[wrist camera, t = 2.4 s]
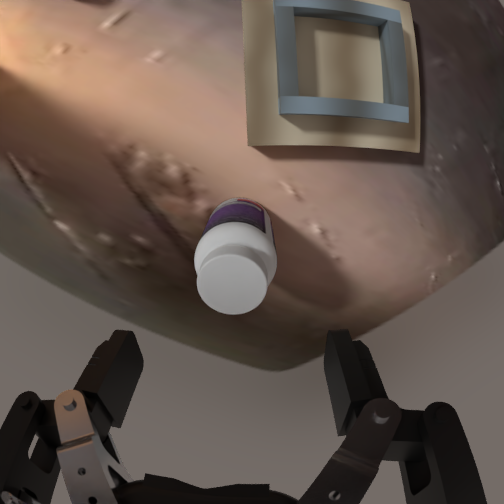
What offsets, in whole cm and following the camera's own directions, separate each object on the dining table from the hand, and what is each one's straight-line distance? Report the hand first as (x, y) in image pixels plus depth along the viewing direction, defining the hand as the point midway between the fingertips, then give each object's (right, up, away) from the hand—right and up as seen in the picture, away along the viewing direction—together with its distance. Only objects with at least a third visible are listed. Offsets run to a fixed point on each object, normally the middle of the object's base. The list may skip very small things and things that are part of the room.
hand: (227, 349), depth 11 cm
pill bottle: (0, +6, +14) cm, 15 cm away
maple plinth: (+7, +19, +8) cm, 22 cm away
